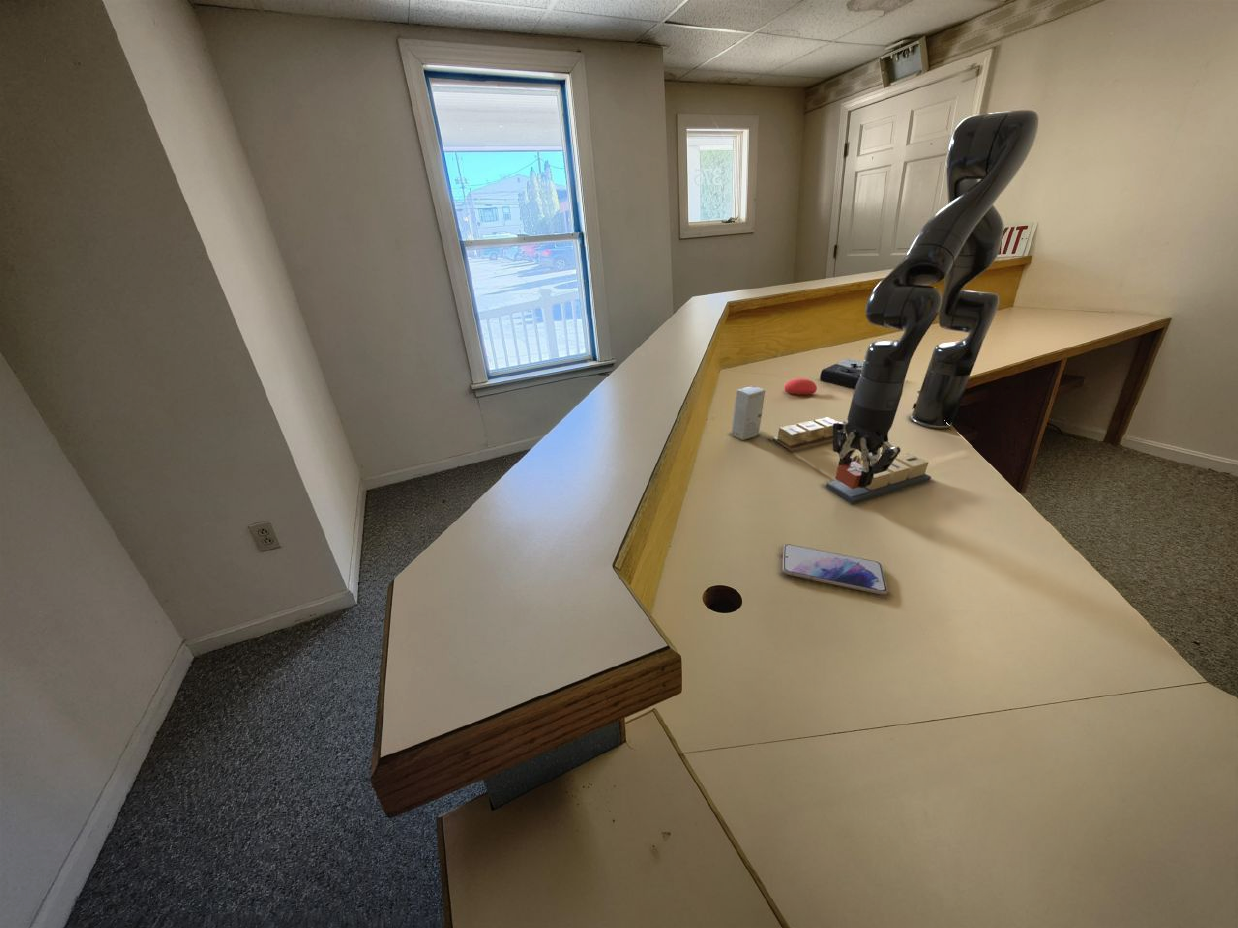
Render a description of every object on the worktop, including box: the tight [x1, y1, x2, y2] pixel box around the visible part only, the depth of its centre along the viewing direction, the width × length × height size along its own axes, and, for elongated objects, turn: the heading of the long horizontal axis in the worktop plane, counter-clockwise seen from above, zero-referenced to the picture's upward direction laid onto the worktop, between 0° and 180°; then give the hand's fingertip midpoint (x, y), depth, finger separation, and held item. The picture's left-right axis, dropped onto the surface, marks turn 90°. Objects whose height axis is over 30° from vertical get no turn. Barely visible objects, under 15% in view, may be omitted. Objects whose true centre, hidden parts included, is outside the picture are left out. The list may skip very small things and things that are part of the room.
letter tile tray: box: [771, 416, 839, 453], centre depth 113 cm, size 22×7×4 cm, turn 113°
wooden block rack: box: [825, 452, 932, 505], centre depth 94 cm, size 22×7×4 cm, turn 113°
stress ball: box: [783, 377, 818, 396], centre depth 140 cm, size 5×9×6 cm
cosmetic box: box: [731, 385, 766, 441], centre depth 113 cm, size 6×4×12 cm
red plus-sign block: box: [834, 462, 863, 489], centre depth 90 cm, size 4×4×3 cm
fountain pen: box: [852, 454, 860, 463], centre depth 99 cm, size 14×1×2 cm, turn 145°
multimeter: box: [819, 358, 864, 390], centre depth 152 cm, size 13×19×5 cm
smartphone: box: [782, 543, 888, 596], centre depth 72 cm, size 7×1×15 cm
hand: (852, 479), depth 91 cm, fingers closed on red plus-sign block, 4 cm apart
